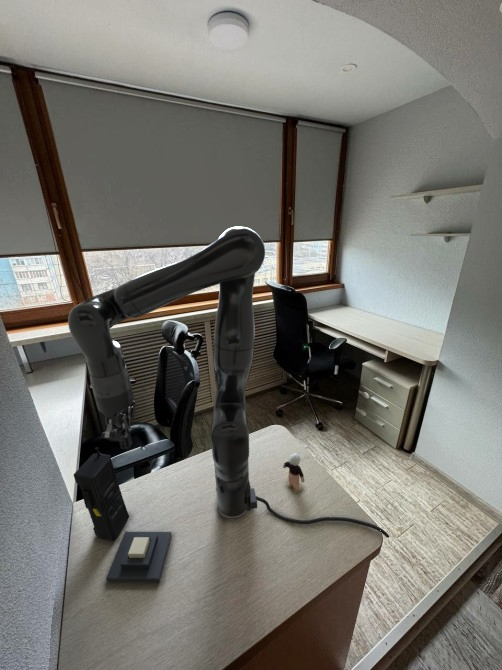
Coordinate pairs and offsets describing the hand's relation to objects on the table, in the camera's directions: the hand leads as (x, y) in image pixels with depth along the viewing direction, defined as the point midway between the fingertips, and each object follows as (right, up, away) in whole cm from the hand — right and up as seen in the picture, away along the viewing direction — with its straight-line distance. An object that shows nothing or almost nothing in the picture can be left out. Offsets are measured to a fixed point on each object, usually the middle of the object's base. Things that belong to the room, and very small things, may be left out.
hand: (126, 446), depth 66 cm
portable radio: (-7, -25, +6) cm, 26 cm away
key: (+4, -24, -2) cm, 25 cm away
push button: (+4, -27, 0) cm, 27 cm away
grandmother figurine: (+44, -20, +17) cm, 51 cm away
